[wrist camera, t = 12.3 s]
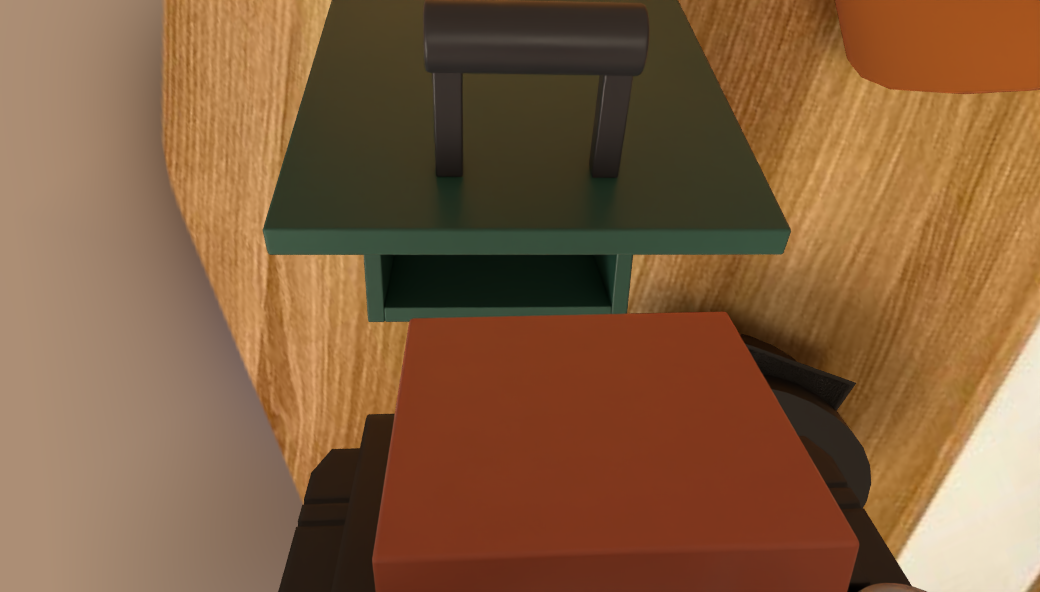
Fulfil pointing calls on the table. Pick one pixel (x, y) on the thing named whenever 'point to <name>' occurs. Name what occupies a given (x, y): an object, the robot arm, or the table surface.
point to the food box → (495, 285)
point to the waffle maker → (815, 410)
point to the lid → (517, 136)
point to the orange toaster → (944, 44)
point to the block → (599, 463)
